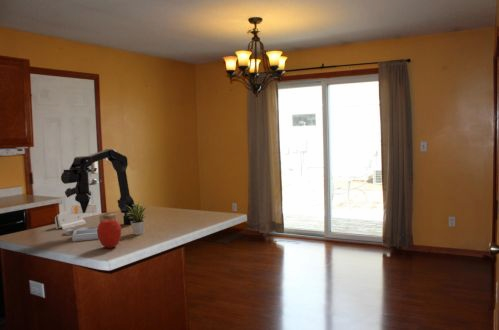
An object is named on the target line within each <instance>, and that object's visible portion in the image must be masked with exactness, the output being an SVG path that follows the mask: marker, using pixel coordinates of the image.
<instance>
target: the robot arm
mask: <svg viewBox="0 0 499 330" xmlns="http://www.w3.org/2000/svg"><path fill="white" fill-rule="evenodd" d="M105 159H107V160H108V161H109V162H110V163H111V165H112V167H113V169H114V170H115V172H116V175H117V182H118V189H119V194H120V195H119V199H117V207H118V208H119V210H120V212H121V214H124V215H123V216H122V219H123V223H124V225H125V226H126V225H131V221H134V219H132V218H131V217H132V216H133V214H129V215H132V216H131V217H130V216H129V215H128V214H126V213H131V212H132V211H131V209H132V210H133V208H134V206H133V205H135V207H136V203H135V202H134V199H133V197H132V196H131V195H130V189H129V184H128V183H129V182H128V176H127V168H128V164H129V163H128V157H127V156H126V155H123V154H122V153H120V152H117V151H116V150H114V149H113V148H105V149H104V150H101V151H98V152H95V153H92V154H89V155H82V156H75V157H74V158H73V161H72V163H71V165H70V167H69V168H68V169H63V172H62V173H61V176H60V180H61V183H63V184H66V185H67V184H74V183H76V184H75V187H68V188H66V190H65V191H64V195H65V196H66V198H70V197H71V196H73V195H75V197H74V199H75V202H78V203H79V205H81V208H82V212H83V214H86V213H85V212H86V209H87V206H88V205H89V204H90V200H91V198H92V191H91V190H90V180H89V173H92V172H93V171H92V169H90V168H89V167H91V166H92V165H93V164H95V163H97V162H99V161H102V160H105ZM126 205H127V206H126ZM128 206H129V207H130V208H131V209H130V208H129V207H128ZM127 208H128V210H127ZM129 209H130V211H131V212H130V211H129ZM139 209H140V208H138V212H139ZM133 212H134V210H133ZM133 212H132V213H133ZM134 213H135V212H134ZM127 215H128V216H127ZM134 216H135V215H134ZM134 216H133V217H134ZM128 217H130V218H131V219H130V218H128ZM134 218H135V217H134Z"/></svg>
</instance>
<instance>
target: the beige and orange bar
mask: <svg viewBox="0 0 499 330" xmlns="http://www.w3.org/2000/svg"><path fill="white" fill-rule="evenodd" d="M70 210H71V214H81V215H82V214H94V213H95V214H96V213H97V212H98V205H97V203H93V204H92V203H91V204H90V203H89V204H88V206H87V209H86V212H85V213H83V212H82V208H81V205H80V204H76V205H71V206H70Z"/></svg>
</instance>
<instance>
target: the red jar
mask: <svg viewBox="0 0 499 330" xmlns="http://www.w3.org/2000/svg"><path fill="white" fill-rule="evenodd" d="M97 226H98V229H97V234H98V238H99V239H98V240H99V242H100V244H101V245H102V246H103V247H104V248H106V249H112V248H116V246H117V245H118V244H119V242H120V240H121V236H122V226H121V224H120V223H119V221H117V219H116V220H113V219H106V220H103V221H102V222H101V223H100V222H99V224H98V225H97Z"/></svg>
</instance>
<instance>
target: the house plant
mask: <svg viewBox="0 0 499 330" xmlns="http://www.w3.org/2000/svg"><path fill="white" fill-rule="evenodd" d="M135 205H136V207H135ZM135 205H133V206H134V208H133V210H134V212H135V213H134V212H133V210H132V209H131V208H130V207H129V206H128V207H129V208H130V209H131V211H132V212H133V213H132V212H131V211H130V209H129V211H130V212H131V213H126V214H128V215H129V214H133V216H134V215H135V216H134V217H135V218H134V217H133V216H132V215H129V216H130V217H131V216H132V217H131V218H132V219H134V221H131V224H130V225H131V230H132V234H133V235H134V236H135V235H137V236H139V235H143V234H144V233H145V224H146V220H145V219H144V218H145V216H144V215H145V213H144V212H145V210H146V209H147V206H145V207H143V206H142V204H141V203H140V202H136V203H135ZM126 206H127V205H126ZM138 209H139V211H138ZM127 210H128V208H127ZM143 213H144V214H143ZM128 215H127V216H128ZM130 217H128V218H130ZM131 218H130V219H131Z"/></svg>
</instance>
